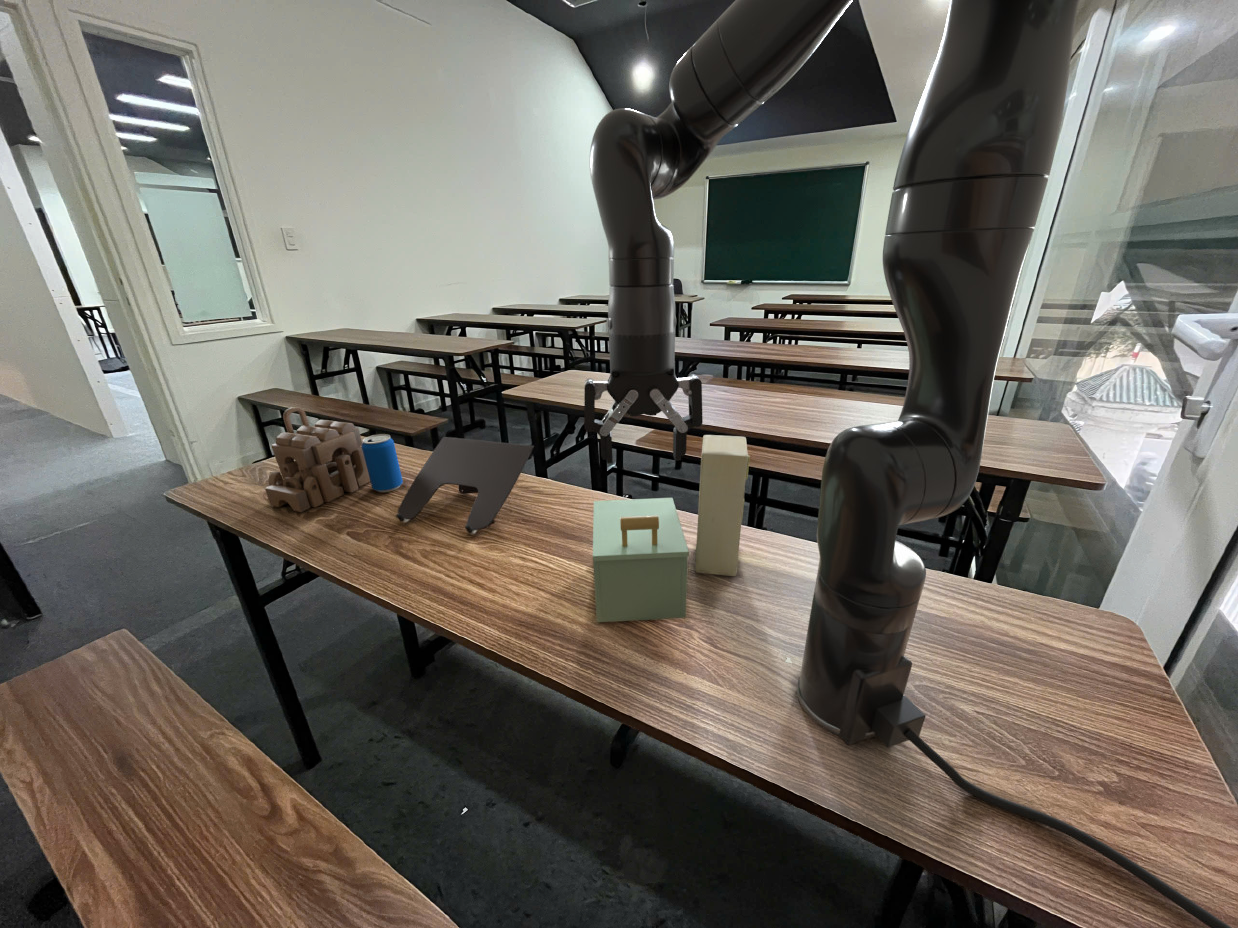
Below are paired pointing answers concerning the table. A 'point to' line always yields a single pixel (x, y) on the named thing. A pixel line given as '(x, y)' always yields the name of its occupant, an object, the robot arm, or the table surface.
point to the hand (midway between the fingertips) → (643, 459)
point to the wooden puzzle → (316, 463)
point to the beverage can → (382, 462)
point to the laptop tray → (468, 477)
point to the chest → (640, 589)
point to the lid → (637, 530)
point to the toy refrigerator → (721, 503)
